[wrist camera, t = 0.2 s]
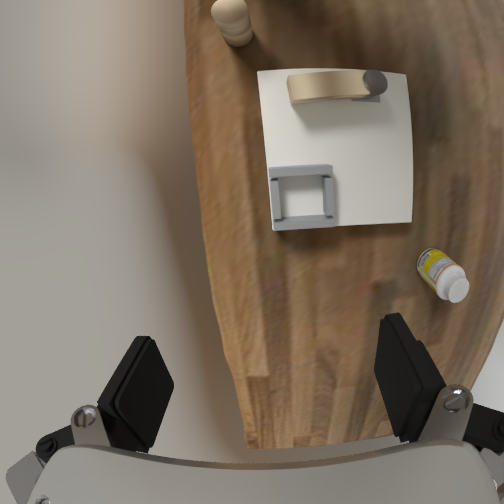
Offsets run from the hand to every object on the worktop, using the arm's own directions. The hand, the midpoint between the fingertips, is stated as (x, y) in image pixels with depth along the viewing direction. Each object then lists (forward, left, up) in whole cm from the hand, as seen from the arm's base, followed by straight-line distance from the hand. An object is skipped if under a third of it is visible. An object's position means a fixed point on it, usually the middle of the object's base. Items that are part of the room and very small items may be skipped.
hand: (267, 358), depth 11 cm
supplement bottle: (+12, +26, -31) cm, 42 cm away
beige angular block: (-15, +9, -27) cm, 32 cm away
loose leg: (-24, -2, -31) cm, 39 cm away
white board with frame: (-7, +10, -31) cm, 33 cm away
